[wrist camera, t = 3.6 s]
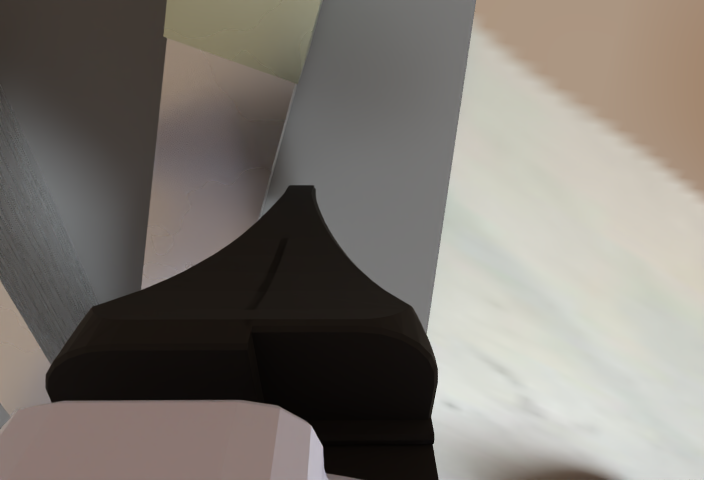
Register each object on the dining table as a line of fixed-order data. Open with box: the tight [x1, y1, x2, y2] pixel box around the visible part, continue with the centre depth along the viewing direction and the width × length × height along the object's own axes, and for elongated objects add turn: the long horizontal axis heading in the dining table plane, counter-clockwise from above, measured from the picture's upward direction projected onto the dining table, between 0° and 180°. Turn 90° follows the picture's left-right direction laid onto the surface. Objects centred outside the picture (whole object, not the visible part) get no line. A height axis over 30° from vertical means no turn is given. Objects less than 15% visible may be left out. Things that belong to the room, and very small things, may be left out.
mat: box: [0, 0, 476, 429], centre depth 14 cm, size 20×27×1 cm
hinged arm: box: [141, 0, 323, 290], centre depth 13 cm, size 21×4×3 cm, turn 160°
